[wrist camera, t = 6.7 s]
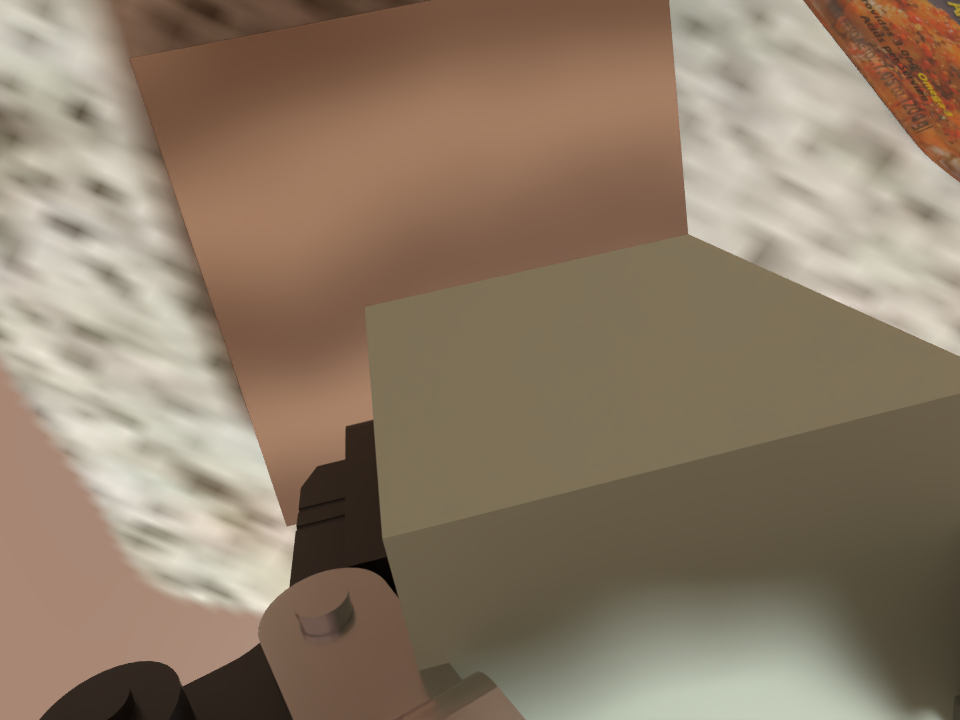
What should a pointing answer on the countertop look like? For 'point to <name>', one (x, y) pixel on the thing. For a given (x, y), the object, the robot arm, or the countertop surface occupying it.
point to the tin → (907, 64)
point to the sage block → (671, 492)
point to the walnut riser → (404, 178)
